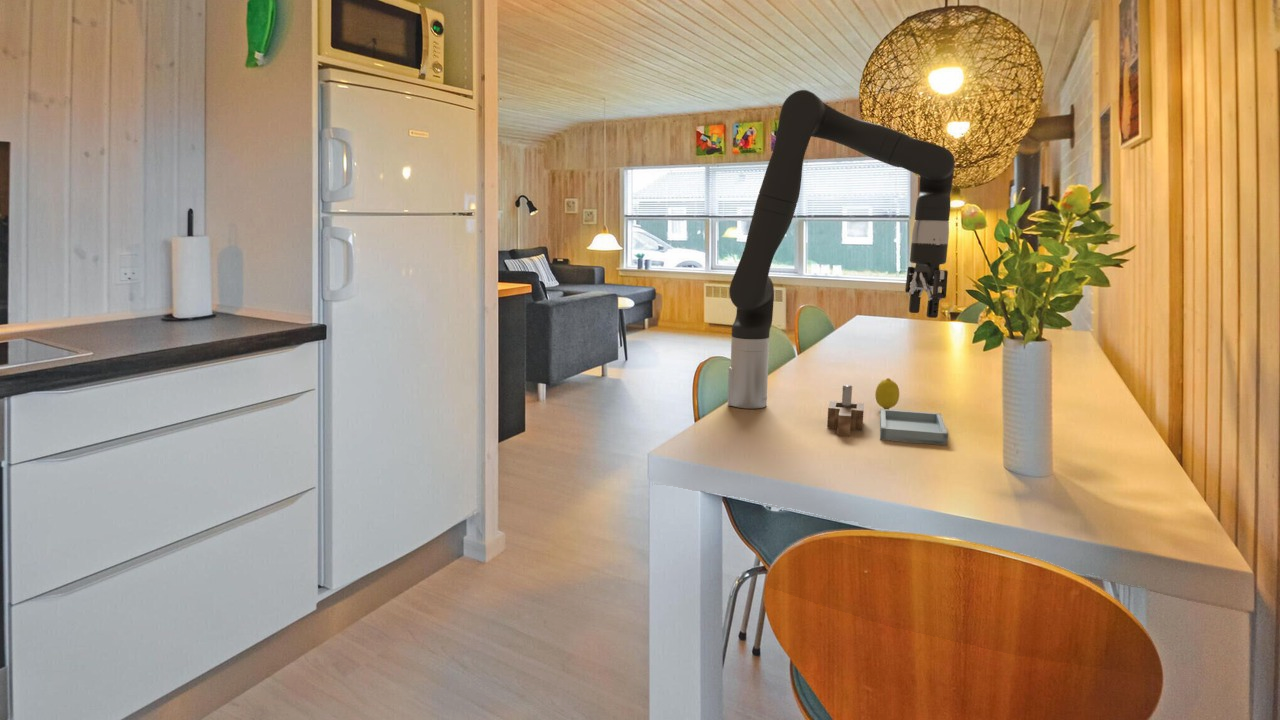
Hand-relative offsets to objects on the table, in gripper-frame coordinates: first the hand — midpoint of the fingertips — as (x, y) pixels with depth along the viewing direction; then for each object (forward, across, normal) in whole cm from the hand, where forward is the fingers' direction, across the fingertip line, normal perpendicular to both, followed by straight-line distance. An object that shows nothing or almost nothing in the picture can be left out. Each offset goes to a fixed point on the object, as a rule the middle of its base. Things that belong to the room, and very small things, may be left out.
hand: (922, 315), depth 165 cm
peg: (+25, +2, -17) cm, 30 cm away
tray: (+25, +8, -4) cm, 26 cm away
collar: (+25, +4, -18) cm, 31 cm away
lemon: (+25, -12, -1) cm, 28 cm away
